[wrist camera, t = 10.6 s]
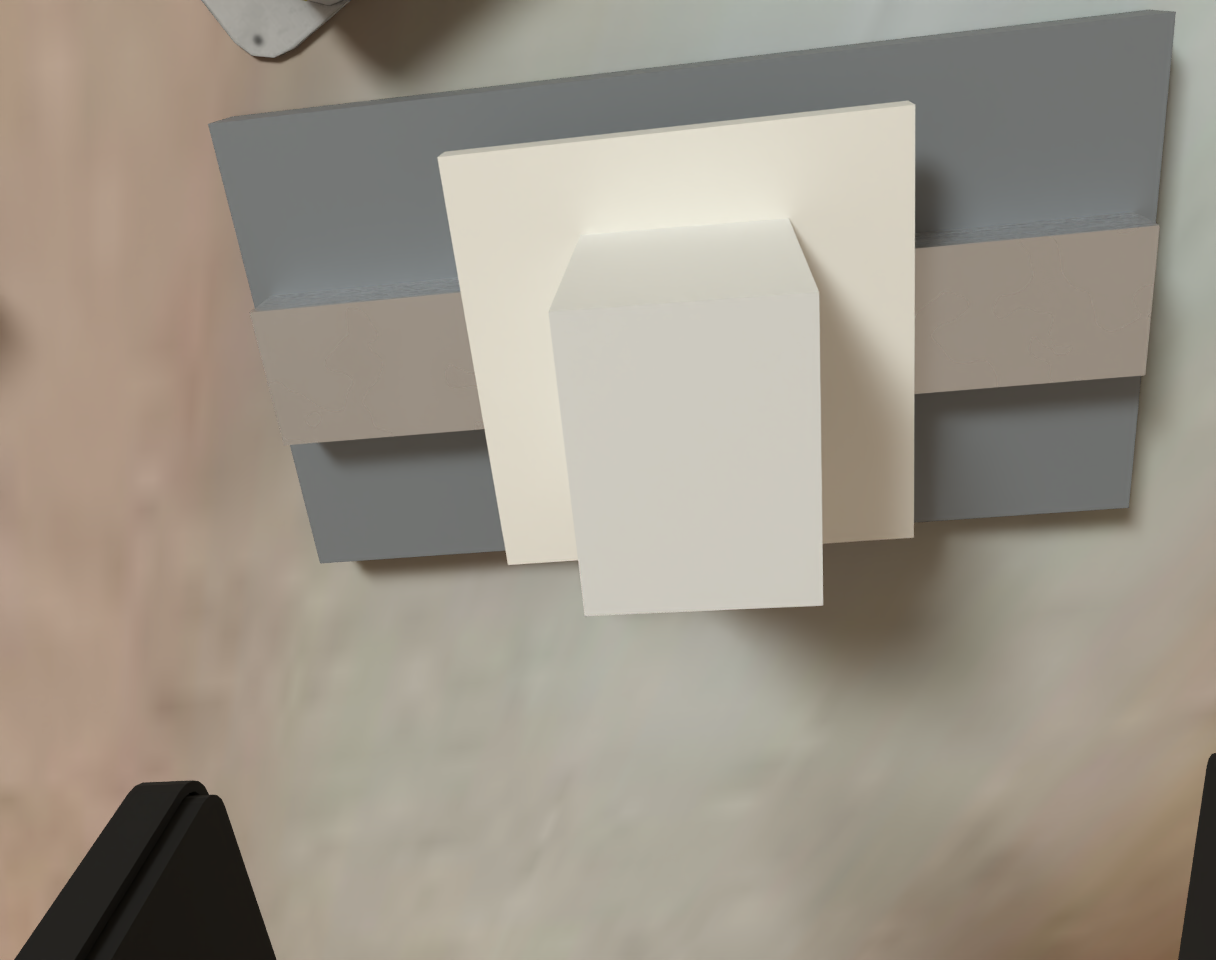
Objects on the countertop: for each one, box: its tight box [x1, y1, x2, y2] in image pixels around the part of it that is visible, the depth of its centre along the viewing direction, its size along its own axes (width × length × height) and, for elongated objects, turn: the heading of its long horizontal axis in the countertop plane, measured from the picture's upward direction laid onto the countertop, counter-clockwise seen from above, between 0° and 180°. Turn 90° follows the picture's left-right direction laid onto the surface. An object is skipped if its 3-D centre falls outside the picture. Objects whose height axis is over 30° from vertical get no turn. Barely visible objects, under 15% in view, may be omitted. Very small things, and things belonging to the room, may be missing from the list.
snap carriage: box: [437, 101, 915, 565], centre depth 26 cm, size 10×11×2 cm
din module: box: [548, 218, 823, 616], centre depth 22 cm, size 4×6×6 cm
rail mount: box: [208, 10, 1176, 563], centre depth 27 cm, size 22×12×3 cm, turn 97°
